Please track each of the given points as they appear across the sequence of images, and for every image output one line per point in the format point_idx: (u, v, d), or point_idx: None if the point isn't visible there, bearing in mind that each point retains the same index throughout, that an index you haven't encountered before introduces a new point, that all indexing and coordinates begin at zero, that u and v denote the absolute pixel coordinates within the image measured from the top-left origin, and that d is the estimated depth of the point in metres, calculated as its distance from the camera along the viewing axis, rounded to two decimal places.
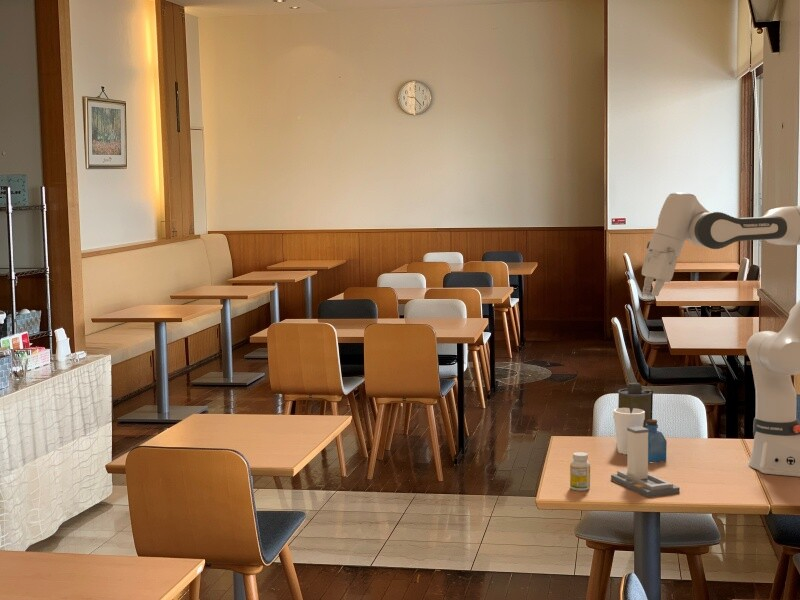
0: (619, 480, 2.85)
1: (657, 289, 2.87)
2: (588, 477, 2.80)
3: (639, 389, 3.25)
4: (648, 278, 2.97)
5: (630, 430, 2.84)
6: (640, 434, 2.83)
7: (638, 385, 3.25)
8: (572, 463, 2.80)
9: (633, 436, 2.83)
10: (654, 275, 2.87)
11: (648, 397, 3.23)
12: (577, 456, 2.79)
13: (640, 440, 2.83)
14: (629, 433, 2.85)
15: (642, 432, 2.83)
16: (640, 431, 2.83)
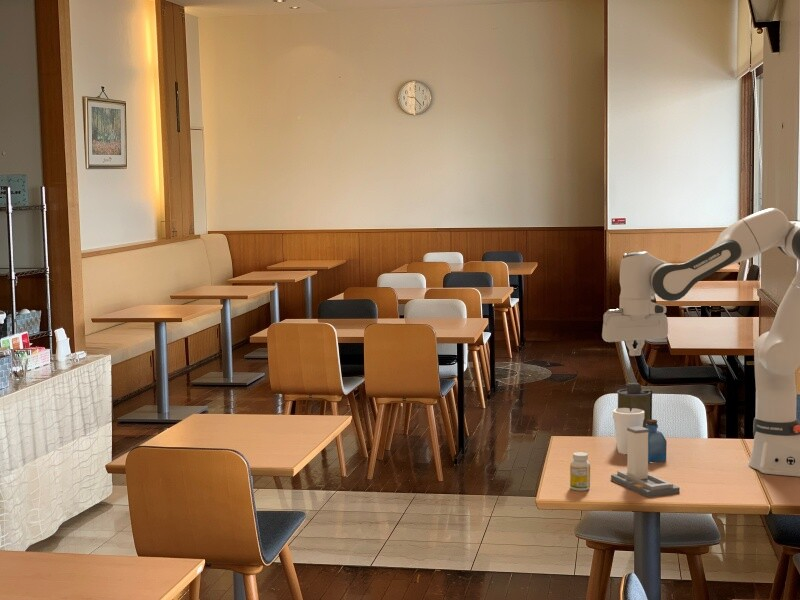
0: (619, 480, 2.85)
1: (630, 349, 2.98)
2: (588, 477, 2.80)
3: (638, 389, 3.25)
4: (637, 341, 3.00)
5: (630, 430, 2.84)
6: (640, 434, 2.83)
7: (637, 385, 3.25)
8: (572, 463, 2.80)
9: (633, 436, 2.83)
10: None
11: (647, 397, 3.23)
12: (577, 456, 2.79)
13: (640, 440, 2.83)
14: (629, 433, 2.85)
15: (642, 432, 2.83)
16: (640, 431, 2.83)
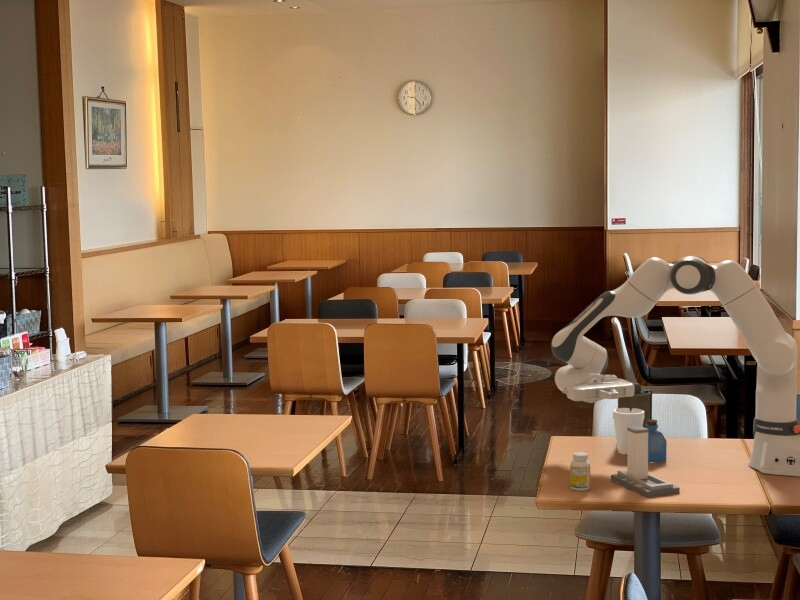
0: (619, 480, 2.85)
1: (606, 395, 2.96)
2: (588, 477, 2.80)
3: (638, 389, 3.25)
4: None
5: (630, 430, 2.84)
6: (640, 434, 2.83)
7: (637, 385, 3.25)
8: (572, 463, 2.80)
9: (633, 436, 2.83)
10: (589, 400, 2.99)
11: (647, 397, 3.23)
12: (577, 456, 2.79)
13: (640, 440, 2.83)
14: (629, 433, 2.85)
15: (642, 432, 2.83)
16: (640, 431, 2.83)
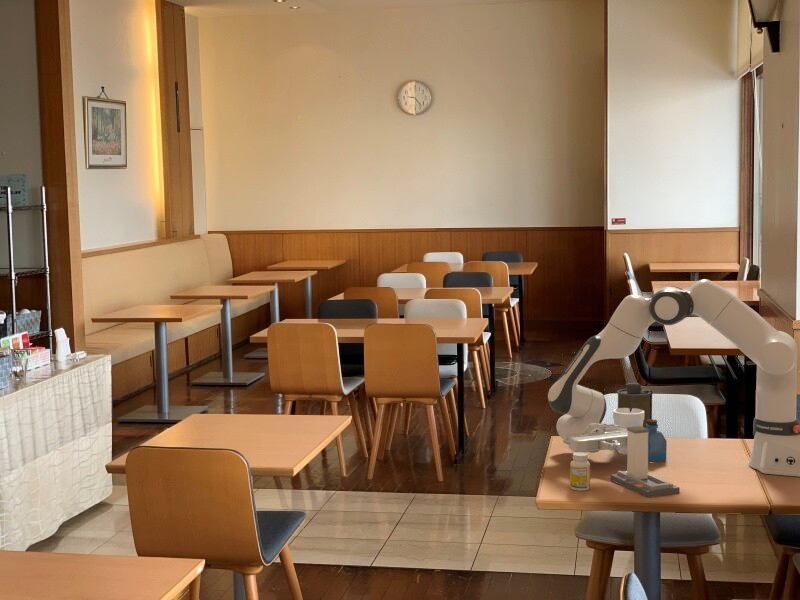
0: (619, 480, 2.85)
1: (607, 446, 2.97)
2: (588, 477, 2.80)
3: (638, 389, 3.25)
4: None
5: (630, 430, 2.84)
6: (640, 434, 2.83)
7: (637, 385, 3.25)
8: (572, 463, 2.80)
9: (633, 436, 2.83)
10: (591, 451, 3.00)
11: (647, 397, 3.23)
12: (577, 456, 2.79)
13: (640, 440, 2.83)
14: (629, 433, 2.85)
15: (642, 432, 2.83)
16: (640, 431, 2.83)
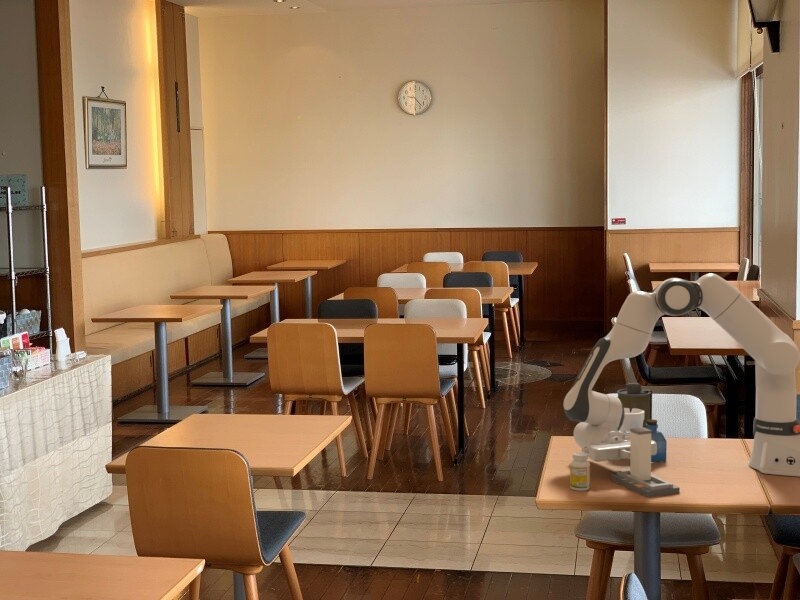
0: (619, 480, 2.85)
1: (628, 455, 2.87)
2: (588, 477, 2.80)
3: (638, 389, 3.25)
4: None
5: (633, 431, 2.83)
6: (643, 435, 2.81)
7: (637, 385, 3.25)
8: (572, 463, 2.80)
9: (636, 438, 2.82)
10: (611, 460, 2.89)
11: (647, 397, 3.23)
12: (577, 456, 2.79)
13: (644, 441, 2.82)
14: (632, 434, 2.84)
15: (645, 433, 2.81)
16: (643, 432, 2.81)
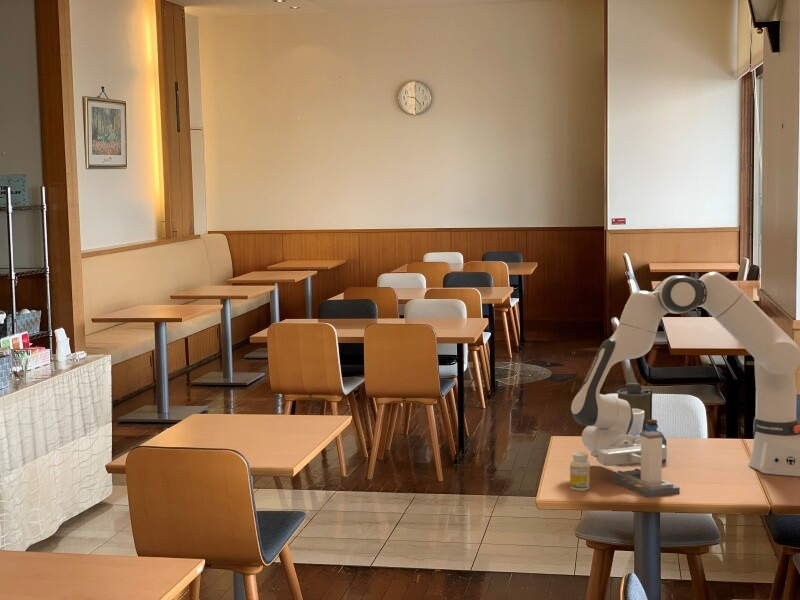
0: (619, 480, 2.85)
1: (638, 459, 2.82)
2: (588, 477, 2.80)
3: (638, 389, 3.25)
4: None
5: (644, 435, 2.78)
6: (653, 439, 2.76)
7: (637, 385, 3.25)
8: (572, 463, 2.80)
9: (647, 442, 2.77)
10: (620, 464, 2.85)
11: (647, 397, 3.23)
12: (577, 456, 2.79)
13: (654, 445, 2.77)
14: (643, 438, 2.79)
15: (656, 437, 2.77)
16: (654, 436, 2.76)
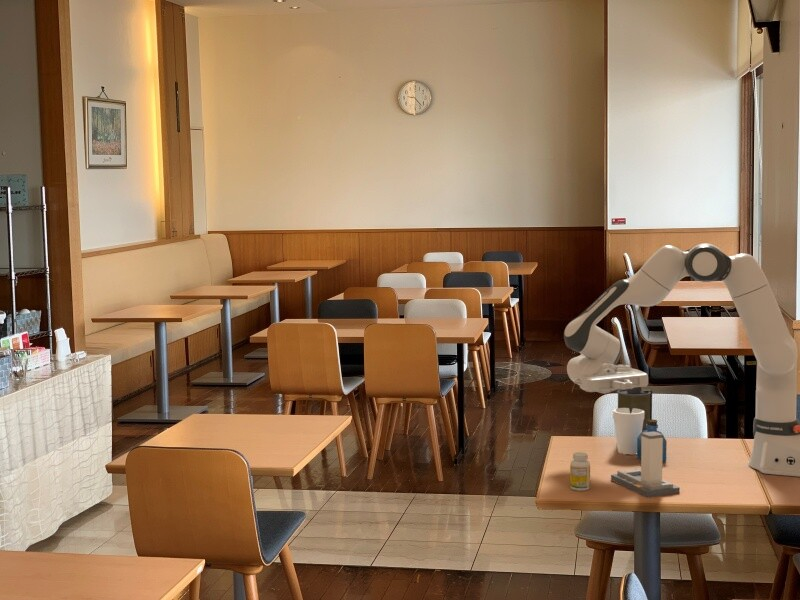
0: (619, 480, 2.85)
1: (620, 385, 2.92)
2: (588, 477, 2.80)
3: (638, 389, 3.25)
4: None
5: (644, 435, 2.78)
6: (654, 439, 2.76)
7: None
8: (572, 463, 2.80)
9: (648, 442, 2.77)
10: (603, 390, 2.95)
11: (647, 397, 3.23)
12: (577, 456, 2.79)
13: (655, 445, 2.77)
14: (643, 438, 2.79)
15: (656, 437, 2.76)
16: (654, 436, 2.76)
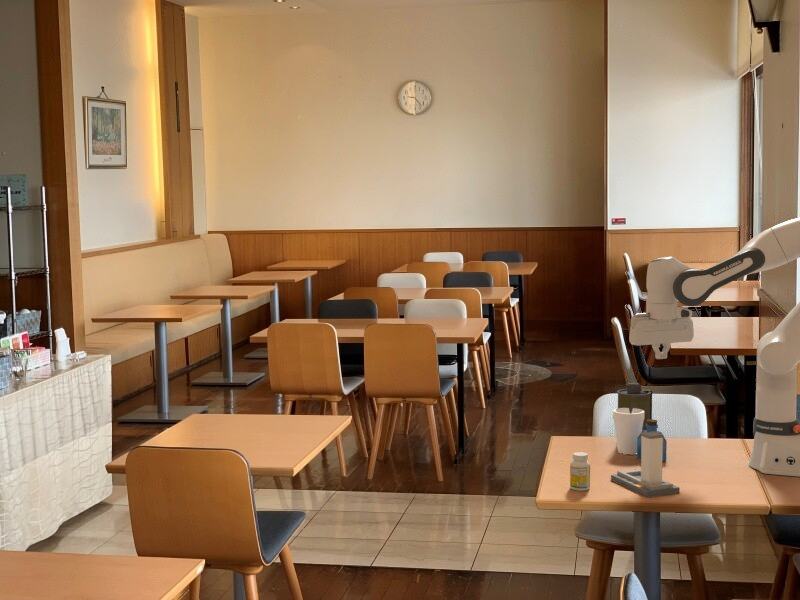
0: (619, 480, 2.85)
1: (656, 352, 3.04)
2: (588, 477, 2.80)
3: (638, 389, 3.25)
4: (663, 344, 3.06)
5: (644, 435, 2.78)
6: (654, 439, 2.76)
7: (637, 385, 3.25)
8: (572, 463, 2.80)
9: (648, 442, 2.77)
10: None
11: (647, 397, 3.23)
12: (577, 456, 2.79)
13: (655, 445, 2.77)
14: (643, 438, 2.79)
15: (656, 437, 2.76)
16: (654, 436, 2.76)
